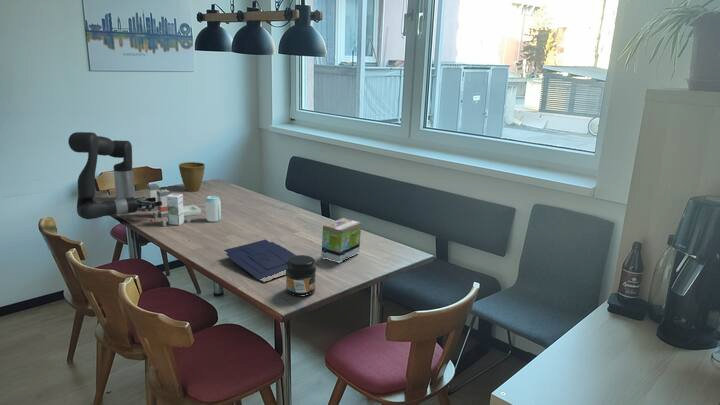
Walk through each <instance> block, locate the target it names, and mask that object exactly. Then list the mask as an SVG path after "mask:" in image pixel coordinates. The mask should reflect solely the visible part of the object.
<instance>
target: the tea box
mask: <svg viewBox="0 0 720 405" xmlns="http://www.w3.org/2000/svg"><path fill="white" fill-rule="evenodd" d="M361 230H362V222H360V221H356V220H352V219H349V218H344V217H342V218H340V219H337V220H334V221H332V222H329V223H327V224H324V225H323V226H322V234H321V235H322V238H321V256H320V257H323V258H328V259H331V260H335V261H342V260H344V259H346V258H348V257H350V256H352V255H354V254H356V253H357V252H359V253H360V246H361V232H362V231H361Z"/></svg>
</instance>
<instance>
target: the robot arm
mask: <svg viewBox="0 0 720 405" xmlns="http://www.w3.org/2000/svg"><path fill="white" fill-rule="evenodd" d="M68 146H69V148H70V150H72V151H73V152H75V153H85V154H87V153H88V154H87V161H86V164H85V165H84V167H83V169H82V170H81V171H80V174H78V179H77V201H76V213H77V215H78V216H79V217H80V218H81V219H85V220H93V219H98V218H102V217H109V216H116V215H117V216H118V215H119V216H121V215H125V214H133V213H136V212H137V210H138V209H141V210H142V211H144V210H146V209H148V210H149V209H154V207H156V206H162V202H161V201H158V202H155V201H156V198H155V197H152V198H148V197H145V196H141V197H135V186H134V174H133V146H132V143H131V141H129V140H115V139H114V140H112V139H110V138H109V137H106V136H101V135H97V134H96V133H95V132H92V131H91V132H88V131H87V132H85V131H77V132H73V133H71V134H70V136H69V137H68ZM98 156H105V157H106V156H109V157H112V158H117V159H123V160H122V162H117V163H116V164H114V165H113V175H114V176H113V177H114V188H115V199H112V200H105V201H101V202H97V203H94V197H95V196H96V170H97V164H98ZM150 205H152V206H150Z"/></svg>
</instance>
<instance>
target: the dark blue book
mask: <svg viewBox="0 0 720 405" xmlns="http://www.w3.org/2000/svg"><path fill="white" fill-rule="evenodd" d="M223 251H224V252H225V255H226V256H228V258H229V259H230V260H231V261H232V262H234V263H236V265H238V266H240V267H241V268H242V269H243V270H245V271H246V272H248V273H249V274H250V275H252V276H253V277H254V278H255V279H256V280H258V281H260V279H262V278H264V277H265V278H266V277H268V276H272V275H274V274H277V273H279V272H281V271H284V270H286V268H287V266H288V259H289V258H290V257H292V256H296V253H293V252H291V251H290V250H288V249H286V248H285V247H284V246H281V245H279V244H278V243H276V242H274V241H268V240H267V239H262V240H258V241H254V242H251V243H246V244H242V245H240V246H235V247H230V248H226V249H224V250H223Z"/></svg>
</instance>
